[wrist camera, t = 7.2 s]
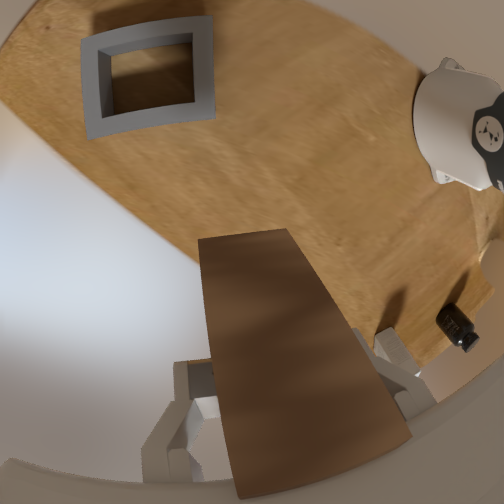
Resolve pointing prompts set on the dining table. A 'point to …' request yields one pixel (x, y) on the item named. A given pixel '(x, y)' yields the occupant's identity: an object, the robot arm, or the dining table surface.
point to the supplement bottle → (457, 327)
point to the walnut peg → (288, 369)
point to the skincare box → (394, 351)
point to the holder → (136, 38)
